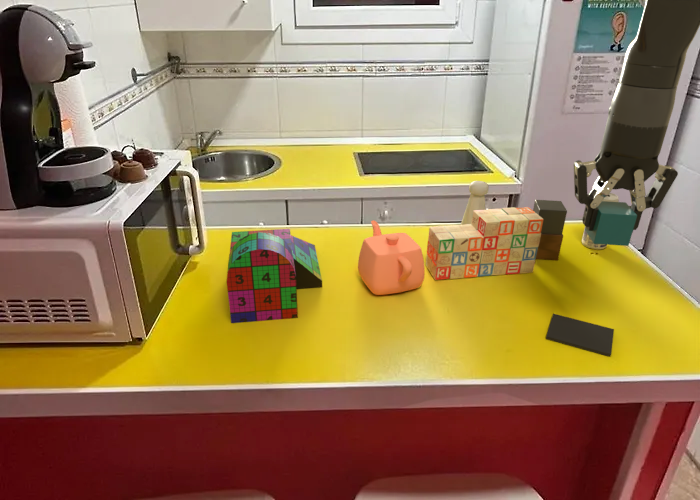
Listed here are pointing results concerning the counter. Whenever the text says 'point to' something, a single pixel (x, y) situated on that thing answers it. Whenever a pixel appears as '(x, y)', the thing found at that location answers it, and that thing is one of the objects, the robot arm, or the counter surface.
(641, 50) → the robot arm
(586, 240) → the energy drink
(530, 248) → the stack of blocks
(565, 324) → the rubber mat
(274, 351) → the counter surface
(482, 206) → the beige tapered round-topped piece
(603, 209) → the teal top block
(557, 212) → the charcoal middle block
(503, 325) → the counter surface
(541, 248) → the walnut base block
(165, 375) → the counter surface
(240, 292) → the checkered arched block
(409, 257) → the teapot
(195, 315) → the counter surface
